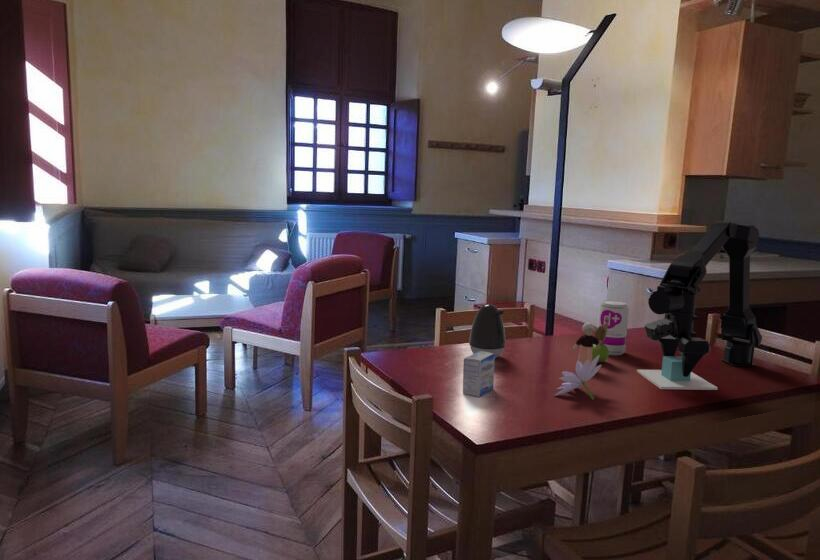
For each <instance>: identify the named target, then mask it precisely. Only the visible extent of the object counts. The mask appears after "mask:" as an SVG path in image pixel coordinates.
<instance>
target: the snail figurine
mask: <svg viewBox="0 0 820 560" xmlns="http://www.w3.org/2000/svg"><path fill="white" fill-rule="evenodd" d="M606 320H609V319H608V318H605V323H604V324H603V326H598V325H597V327H595V331H594V333H593V336H594V337H596V338H597V339H598V341H599V344H600V346H601V348H600V349H597V346H596V345H595V344H593V353H592V361H593V360H594V359H595V358H596V357H597V356H598V355H600V356H599V359H598V362H597V363H604V362H605V361H606V360H607V359H608V358H609V356H610V355H609V350H608V348H607V346H606V345H604V344H602V343H603V341H604V340H605V337H606V334H607V327H608V322H606Z"/></svg>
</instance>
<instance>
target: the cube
mask: <svg viewBox="0 0 820 560" xmlns="http://www.w3.org/2000/svg"><path fill="white" fill-rule="evenodd" d="M661 370H662V372H661V375H662V376H664V377H665V378H666V379H668V380H669V381H690V376H691V373H690V374H689V376H688V377H684V376H683V371H682V355H678V356H676V355H674V356H664V355H663V356H662V363H661Z"/></svg>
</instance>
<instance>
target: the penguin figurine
mask: <svg viewBox="0 0 820 560" xmlns="http://www.w3.org/2000/svg"><path fill="white" fill-rule="evenodd" d="M504 311H505V310H504V309H498V307H497V306H496V305H493V304H492V303H486V304H483V305H481V307H480V308H479V309H478V310H477V313H476V315H475V316H474V319H473V321H472V325H471V329H470V334H469V339H468V345H469V347H470V350H471V352H472V354H474V353H476V352H478V351H483V352H489V353H493V354H495V359H497V358H499V357H500V356H501V355H502V354H503V352H504V350H505V347H506V346H507V344H506V343H507V342H506V340H507V339H506V331H505V325H504V322H503V318H502V315H503V314H504V313H505V312H504Z"/></svg>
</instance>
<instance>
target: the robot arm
mask: <svg viewBox="0 0 820 560" xmlns="http://www.w3.org/2000/svg"><path fill="white" fill-rule="evenodd" d="M759 239H760V231H759V229H758V228H756V226H755V225H753V224H740V223H739V224H738V223H735V222H732V221H719V220H717V221H715V222H713V223H712V225H711V226H710V229H709V230H708V231H707V232H706V233H705V234H704V235H703V236H702V238H701V239H700V240H699V241H698V242H697V243H696V245H694V247H693V248H692V249H691V250H690V251H689V252H686V253H684V254H681V255H679V256H677V257H676V258H675V259H674V260H672V262H671V263H669V266H668V268H667V270H666V271H665V273H664V276H663V277H662V279H661V281H660V283H659V285H658V286H657V287H656V290H655V291H654V292H652V293H651V294H650V296H649V297H648V300H647V301H648V307H649V309H650V310H651V312H653V313H654V314H656V315H664V318H661V319H657V320H655V321H652V322H649V323H646V324H644V329H645V332H646V336H647V338H649V339H651V340H652V341H657V342H659V344H660V346H661V350H662V355H663V356H676V352H678V353H679V354H680V356H682V371H683V376H684V377H688V376H689V374H690V373H691V372H693V369H694V368H695V367H696V365H697V364H698V363H699V361H701V359H702V358H703V357H704V356H706V355H707V354H710V351H711V344H710V342H709V341H707V340H706V339H703V338H701V337H697V332H695V331H694V323H695V321H696V322H697V321H698V320H699V317H698V316H697V315H695V313H696V305H697V304H696V303H697V293H701V292H702V289H701V288H700V287H699V286H698V285H699V284H700V283H701V282H702V280H703V279H704V278H705V276H706V274H707V273H708V272H707V266H708V264H709V262H711V260H712V259H713V258H714V257H715V255H716V254H717V253H718V252H719V251H720V250H721V249H723V250H724V252H725V253H726V255H727V256H728V259H729V261H728V262H729V263H728V264H729V268H728V269H729V271H728V288H729V289H728V308H727V310H726V311H725V313H724V314H721V316H720V332H721V333H720V334H721V340H722V341H726V345H725V346H724V351H723V357H722V358H721V361H723V362H725V363H727V364H728V365H731V366H732V367H756V366H757V365H756V363H754V354H755V347H760V345H761V344H762V341H763V340H762V339H763V336H762V334H761V332H760V330H759V328H758V325H757V317H756V315H755V314H754V312H753V311H752V309H751V308H750V286H751V283H750V280H751V279H750V277H751V274H750V273H751V255H752V254H753V253H754V252H755V250H756V249H757V247H758V241H759Z"/></svg>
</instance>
